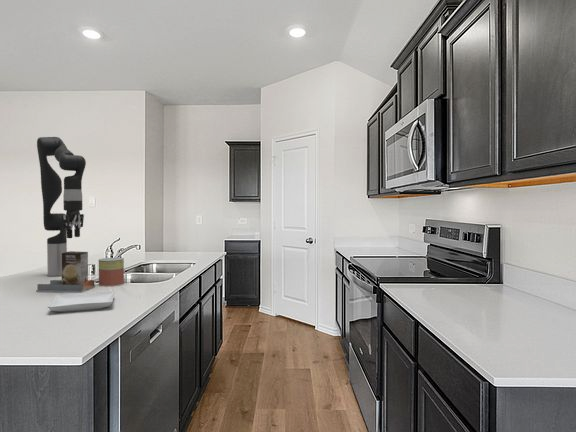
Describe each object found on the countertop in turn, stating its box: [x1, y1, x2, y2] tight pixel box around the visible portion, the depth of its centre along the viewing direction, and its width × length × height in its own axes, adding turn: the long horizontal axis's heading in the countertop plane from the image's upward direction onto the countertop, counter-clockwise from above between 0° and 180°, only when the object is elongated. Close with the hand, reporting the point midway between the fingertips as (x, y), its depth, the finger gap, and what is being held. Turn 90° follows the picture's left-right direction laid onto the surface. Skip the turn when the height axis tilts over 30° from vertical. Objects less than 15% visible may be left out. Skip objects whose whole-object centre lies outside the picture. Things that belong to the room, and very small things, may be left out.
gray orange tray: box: [36, 279, 96, 294], centre depth 187 cm, size 12×20×4 cm, turn 88°
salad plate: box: [47, 290, 115, 313], centre depth 158 cm, size 21×21×3 cm
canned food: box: [98, 257, 125, 287], centre depth 200 cm, size 11×11×12 cm
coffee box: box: [61, 250, 89, 284], centre depth 187 cm, size 9×6×16 cm
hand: (73, 237), depth 186 cm, fingers open, 5 cm apart
